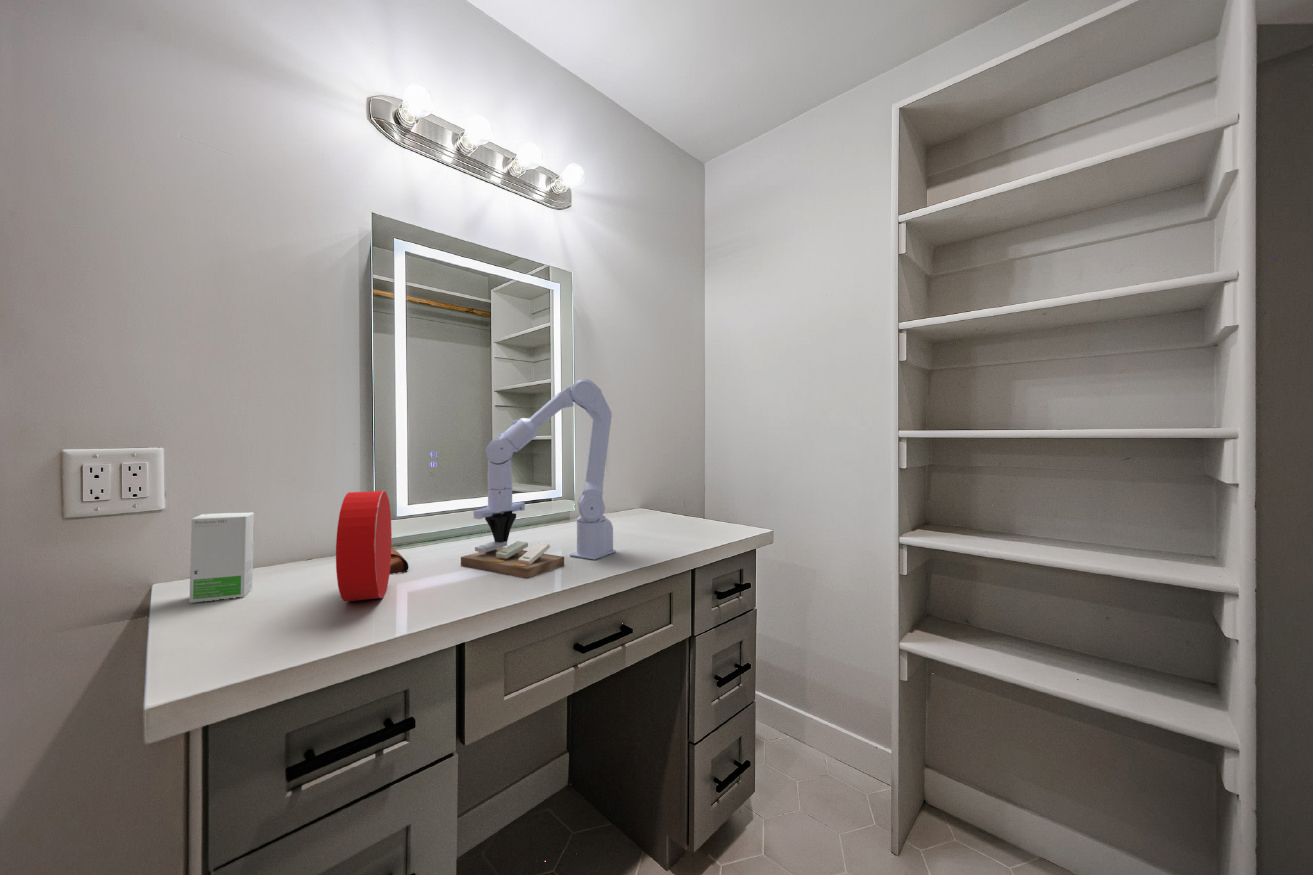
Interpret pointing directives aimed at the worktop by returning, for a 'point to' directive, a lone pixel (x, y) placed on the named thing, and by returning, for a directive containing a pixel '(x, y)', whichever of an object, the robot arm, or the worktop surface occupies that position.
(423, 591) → the worktop surface
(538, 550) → the cream rocker
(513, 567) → the switch panel
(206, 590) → the skincare box
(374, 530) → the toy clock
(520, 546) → the sage rocker
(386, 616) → the worktop surface
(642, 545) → the worktop surface
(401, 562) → the sunglasses case
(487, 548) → the bluegrey rocker
